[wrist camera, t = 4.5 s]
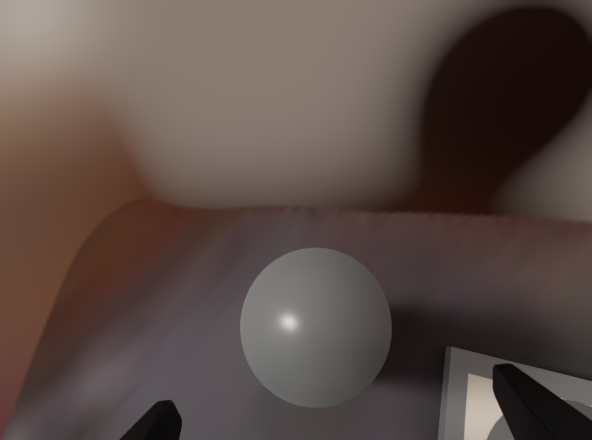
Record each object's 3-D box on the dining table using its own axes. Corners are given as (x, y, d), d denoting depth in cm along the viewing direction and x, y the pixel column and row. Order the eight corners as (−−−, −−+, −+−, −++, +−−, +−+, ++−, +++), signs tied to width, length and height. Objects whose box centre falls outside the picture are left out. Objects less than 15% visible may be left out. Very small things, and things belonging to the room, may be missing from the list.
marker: (370, 391, 16) (379, 431, 7) (294, 369, 18) (221, 381, 9) (382, 309, 18) (400, 261, 9) (310, 294, 19) (262, 237, 10)
